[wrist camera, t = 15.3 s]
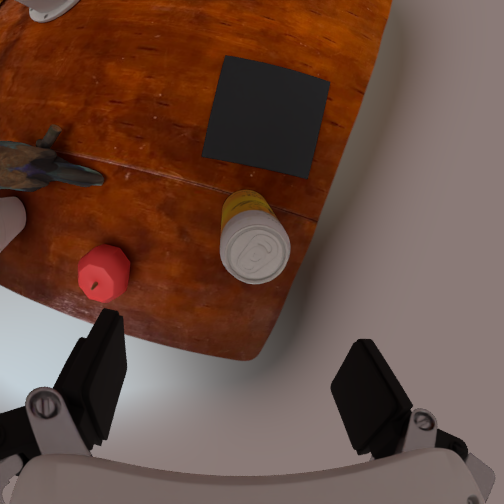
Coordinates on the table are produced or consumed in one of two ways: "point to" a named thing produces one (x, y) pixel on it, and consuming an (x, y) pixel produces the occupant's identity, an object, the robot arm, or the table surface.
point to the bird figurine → (40, 166)
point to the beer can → (252, 239)
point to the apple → (104, 273)
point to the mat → (265, 117)
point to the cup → (11, 219)
